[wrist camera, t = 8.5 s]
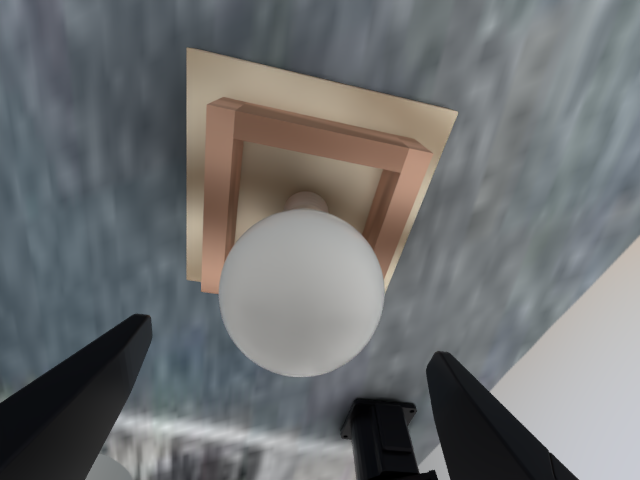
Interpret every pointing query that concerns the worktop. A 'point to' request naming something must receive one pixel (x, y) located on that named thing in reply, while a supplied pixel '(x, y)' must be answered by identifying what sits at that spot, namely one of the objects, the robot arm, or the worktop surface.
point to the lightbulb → (301, 290)
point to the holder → (300, 156)
